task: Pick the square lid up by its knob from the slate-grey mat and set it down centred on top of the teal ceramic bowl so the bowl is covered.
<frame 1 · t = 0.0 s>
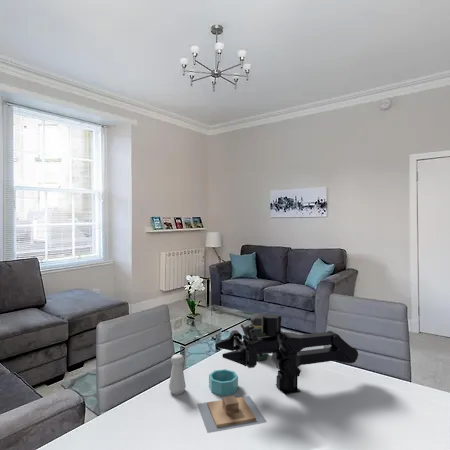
hand: (218, 350, 109), 17 cm above the table, tool horizontal, fingers open, 9 cm apart
mat: (230, 414, 101), on the table
salt shaker: (177, 393, 113), on the table
coffee jar: (259, 357, 144), on the table
bowl: (223, 389, 116), on the table
lid: (230, 412, 101), point 1 cm above the table, touching mat
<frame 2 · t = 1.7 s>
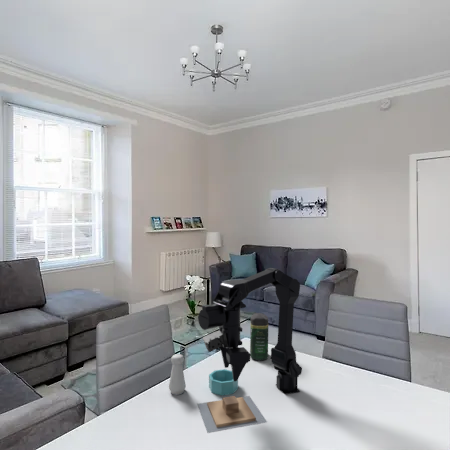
hand: (230, 373, 101), 13 cm above the table, tool pointing down, fingers open, 9 cm apart
nothing on the table moved.
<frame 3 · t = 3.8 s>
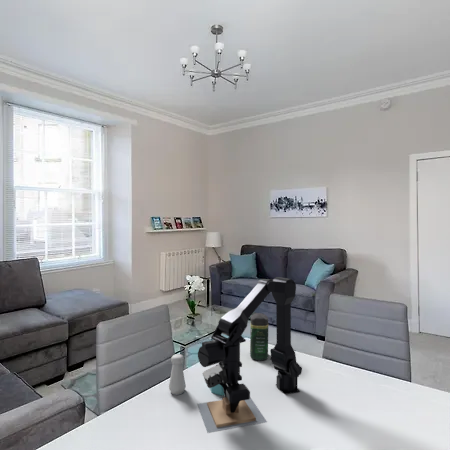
hand: (230, 408, 101), 2 cm above the table, tool pointing down, fingers closed on lid, 4 cm apart
lid: (230, 412, 101), point 1 cm above the table, touching gripper, mat
everything else where it was.
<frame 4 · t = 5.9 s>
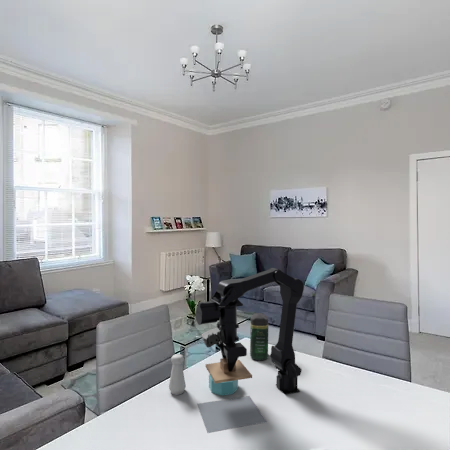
hand: (228, 368, 106), 12 cm above the table, tool pointing down, fingers closed on lid, 4 cm apart
lid: (227, 372, 106), point 11 cm above the table, touching gripper
everything else where it was.
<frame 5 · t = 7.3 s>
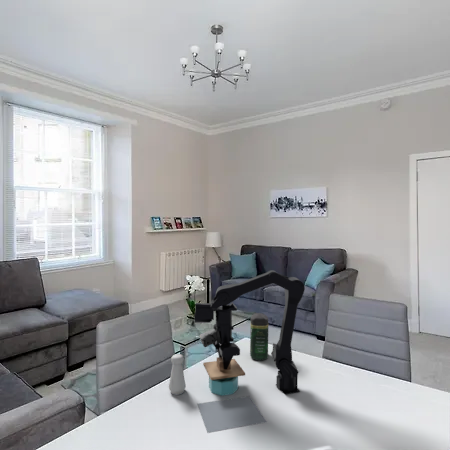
hand: (223, 366, 115), 8 cm above the table, tool pointing down, fingers closed on lid, 4 cm apart
lid: (223, 369, 115), point 7 cm above the table, touching gripper
everything else where it was.
when the fingers open (7 cm above the table, at t = 8.2 s): lid drops 1 cm, resting on bowl.
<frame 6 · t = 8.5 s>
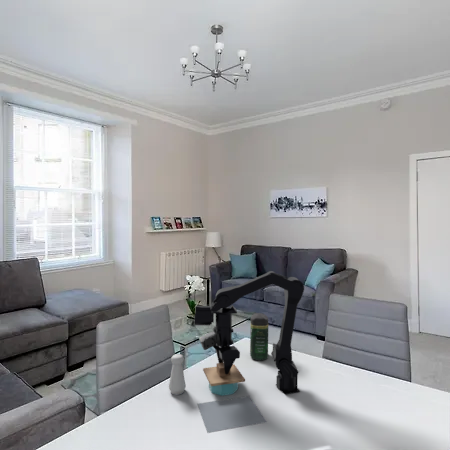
hand: (223, 369, 115), 7 cm above the table, tool pointing down, fingers open, 7 cm apart
bowl: (223, 389, 116), on the table, touching lid
lid: (223, 375, 115), point 5 cm above the table, touching bowl
everything else where it was.
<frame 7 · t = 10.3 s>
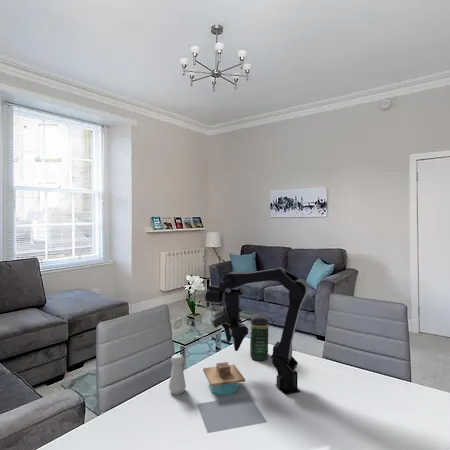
hand: (232, 346, 124), 12 cm above the table, tool pointing down, fingers open, 9 cm apart
nothing on the table moved.
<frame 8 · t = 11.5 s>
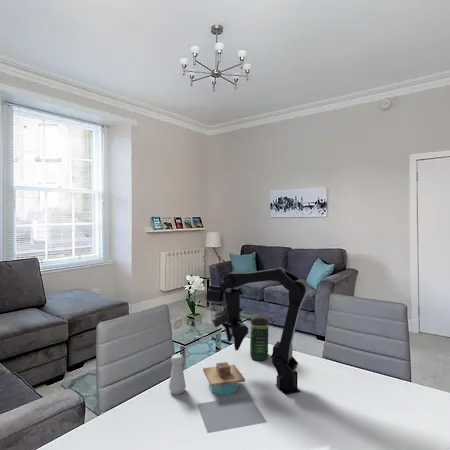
hand: (232, 345, 125), 12 cm above the table, tool pointing down, fingers open, 9 cm apart
nothing on the table moved.
at the end: lid 0.1 cm off-centre on the bowl, point 5.0 cm above the bowl's base; lid tilted 0°; the gripper is holding nothing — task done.
